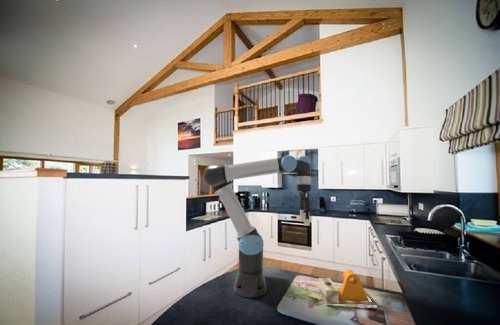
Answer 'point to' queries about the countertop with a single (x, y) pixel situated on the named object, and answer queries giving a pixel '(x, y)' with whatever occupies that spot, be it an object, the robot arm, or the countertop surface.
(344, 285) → the bracket
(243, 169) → the robot arm
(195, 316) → the countertop surface
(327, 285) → the seat holder
